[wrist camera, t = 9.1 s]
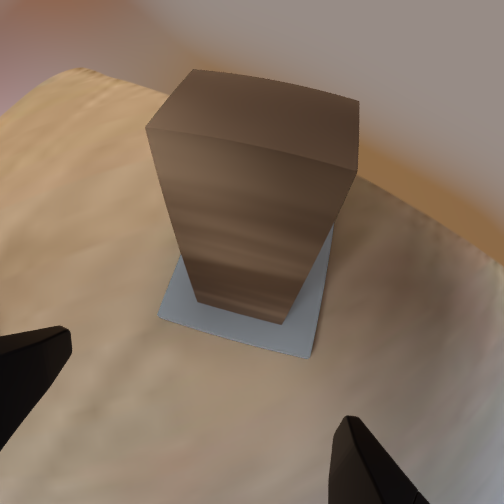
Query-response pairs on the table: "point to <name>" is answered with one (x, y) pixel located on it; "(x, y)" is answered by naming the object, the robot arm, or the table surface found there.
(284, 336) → the mat
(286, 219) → the walnut slab
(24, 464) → the table surface
